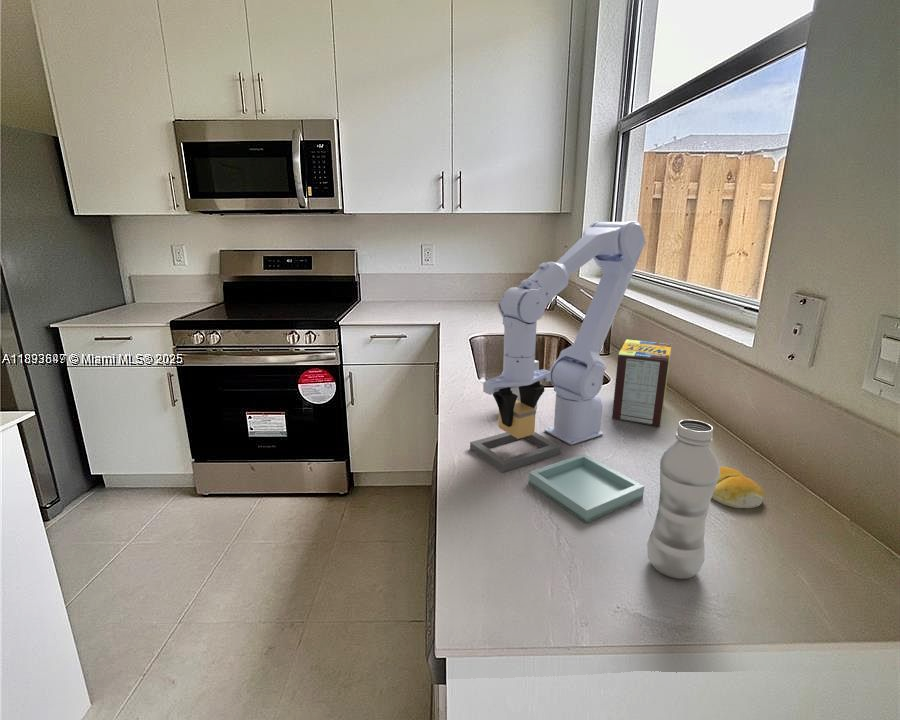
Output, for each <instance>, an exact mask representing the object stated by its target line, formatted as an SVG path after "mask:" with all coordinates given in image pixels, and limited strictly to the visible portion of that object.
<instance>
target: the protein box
mask: <svg viewBox="0 0 900 720" xmlns="http://www.w3.org/2000/svg"><path fill="white" fill-rule="evenodd" d="M671 354H672V343H665V342H658V341H657V342H656V341H645V340H639V339H638V340H635V339H625V341H624V343H623V345H622V347H621V348H620V350H619V352H618V354H617V365H616V373H615V384H614V394H613V405H612V415H611V419H612V420H619V421H623V422H629V423H630V422H631V423H635V424H641V425H648V426H653V427H658V426H659V427H661V423H662V416H663V410H664V404H665V397H666V390H667V385H668V375H669V370H670V362H671ZM659 427H658V428H659Z"/></svg>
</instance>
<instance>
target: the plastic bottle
mask: <svg viewBox="0 0 900 720" xmlns="http://www.w3.org/2000/svg"><path fill="white" fill-rule="evenodd" d="M713 433H714V427H713V426H712V425H711V424H710V423H707V422H705V421H701V420H696V419H681V420H680V421H679V422H678V423H677V431H676V432H675V439H676V440H677V441H676V442H674V443H673V444H672V445H670V446H669V447H668V448H667V449H666V450H665V451H664V452H663V454H662V456H661V458H660V459H659V460H660V466H659V483H660V484H659V501H658V508H657V512H656V517H655V520H654V524H653V527H652V529H651V532H650V534H649V537H648V540H647V543H646V551H647V554H646V555H647V558H648V560H649V561H650V563H651V565H652V567H653V568H654V569H655V570H656V571H658V572H659V573H661V574H662V575H664V576H666V577H669V578H673V579H678V580H686V579H691V578H693V577H694V576H695V575H697V574H699V572H700V571H701V570H702V568H703V564H704V562H705V559H706V558H705V552H706V551H705V549H706V548H705V531H706V519H707V516H708V511H709V508H710V504H711V500H712V499H713V498H712V495H713V493H714V490H715V487H716V485H717V482H718V480H719V476H720V467H721V466H720V463H719V462H720V461H719V460H718V458H717V456H716V454H715V453H714V452H713V450H712V449H711V447H710V446H711V445H712V444H713V442H714V439H713V436H714V435H713Z"/></svg>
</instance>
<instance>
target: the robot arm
mask: <svg viewBox="0 0 900 720" xmlns="http://www.w3.org/2000/svg"><path fill="white" fill-rule="evenodd" d="M645 245H646V238H645V233H644V228H643V227H642V225H641V223H639V222H638V221H636V220H633V221H631V220H630V221H600V220H598V221H594V222H593V223H591V224H590V225H589V226H588V227H586V228H585V229H583V232H582V237H581V238H579V239H578V240H577V241H576V243H575V244H573V245H572V246H571V247H570V248H569V249H568V250H567V251H566V252H565V253H564V254H563V255H562V256H561V257H560V258H559V259H558V260H557V261H556V262H555V261H548V262H542V263H541V264H539V265H538V269H537V270H536V271H535V272H534V273H533V274H531V275H530V276H528V278H525V279H523V280H521V282H520V285H518V287H517V286H513V287H509V288H508V289H506V291H505V292H504V293H503V294H502V295H501V297H500V301H499V302H498V303H497V309H498V312H499V314H500V315H501V317H502V325H503V326H504V329H503V330H504V331H503V334H504V337H503V357H502V358H503V360H502V361H503V363H502V371H501V374H500V375H498V376H496V377H494V378H491V379H489V380H486V381H483V386H482V387H483V391H482V392H483V393H485V394H487V395H490V396H493V398H494V401H495V403H496V404H497V408H498V412H499V411H500V415H501V419H502V424H504V425H506V426H507V427H511V426H512V422H513V410H514V406H515V402H516V399H517V397H518V396H517V395H515V394H513V393H512V391H511V388H515V387H519V392H520V401H521V403H523V404H525V405H528V406H530V407H532V408H535V406H536V404H537V405H538V401H539V400H540V398H541V396H542V395H543V394H544V392H545V386H544V385H542V384H541V383H542V382H546V383H547V382H550V384H551V386H553V391H554V392H555V403H554V420H553V426H550V427H546V428H544V432H545V433H548V434H550V435H552V436H554V437H555V438H557V439H559V440H561V441H563V442H565V443H566V444H568V445H575V444H578V443H581V442H585V441H588V440H590V439H594V438H596V437H600V436H603V435H604V433H603V431H601V422H602V411H603V402H602V399H601V397H600V395H599V393H600V391H601V389H602V387H603V382H604V374H605V371H606V369H607V366H606V364H605V362H604V360H603V359H602V357H601V356H600V353H601V351H602V348H603V346H604V343H605V341H606V339H607V336H608V334H609V332H610V329H611V327H612V324H613V322H614V320H615V316H616V315H617V312H618V311H619V307H620V305H621V303H622V300H623V298H624V296H625V293H626V290H627V288H628V286H629V283H630V282H631V280H632V276H633V273H634V270H635V269H636V267H637V264H638V262H639V259H640V257H641V255H642V252H643V250H644V247H645ZM591 260H594V261H595V263H596V266H597V267H599V268H600V269H601V273H602V275H601V277H600V279H599V282H598V284H597V287H596V290H595V291H594V294H593V296H592V299H591V301H590V304H589V305H588V309H587V311H586V313H585V315H584V317H583V318H584V319H583V321H582V322H581V325H580V328H579V331H578V332H577V336H576V338H575V340H574V342H573V344H572V345H570V346H568V347H565V348H564V349H562V350H561V351H560V353H559V356H558V357H557V359H556V360H554V362H553V363H552V365H551V366H550V368H549V370H547V369H539V370H534V364H535V360H536V343H537V342H536V341H537V326H538V325H537V324H538V323H537V321H538V320H540V319H542V317H543V315H544V313H545V312H546V311H545V310H546V308H547V306H548V305H549V303H550V302H551V301H552V300H553V299H554V298H555V297H556V296H557V295H559V294H561V292H562V291H563V290H564V289H566V287H568V284H569V281H570V280H569V279H570V278H569V277H570V276H571V275H572V274H574V273H575V272H577V270H580V269H581V268H582V267H583V266H585V265H586V264H587V263H589V262H590V261H591Z"/></svg>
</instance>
